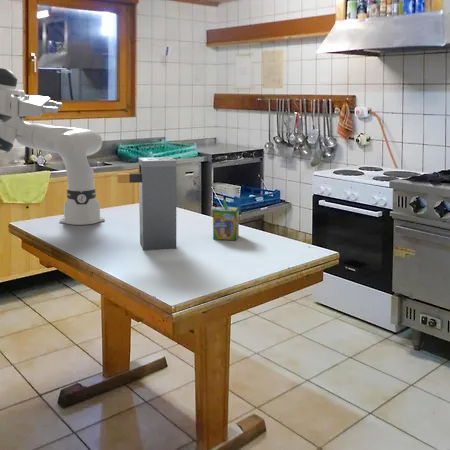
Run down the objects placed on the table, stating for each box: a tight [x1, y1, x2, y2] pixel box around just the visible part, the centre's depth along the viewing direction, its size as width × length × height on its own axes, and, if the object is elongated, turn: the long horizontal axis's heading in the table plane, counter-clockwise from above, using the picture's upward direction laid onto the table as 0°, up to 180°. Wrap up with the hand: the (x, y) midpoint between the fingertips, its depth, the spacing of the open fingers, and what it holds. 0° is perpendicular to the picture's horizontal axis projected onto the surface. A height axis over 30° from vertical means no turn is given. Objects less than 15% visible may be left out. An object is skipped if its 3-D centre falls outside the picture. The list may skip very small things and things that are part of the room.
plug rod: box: [116, 172, 141, 184], centre depth 207 cm, size 3×18×3 cm, turn 105°
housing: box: [138, 156, 177, 251], centre depth 210 cm, size 10×12×32 cm
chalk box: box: [212, 199, 240, 241], centre depth 226 cm, size 9×9×15 cm
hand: (59, 108), depth 201 cm, fingers open, 8 cm apart
